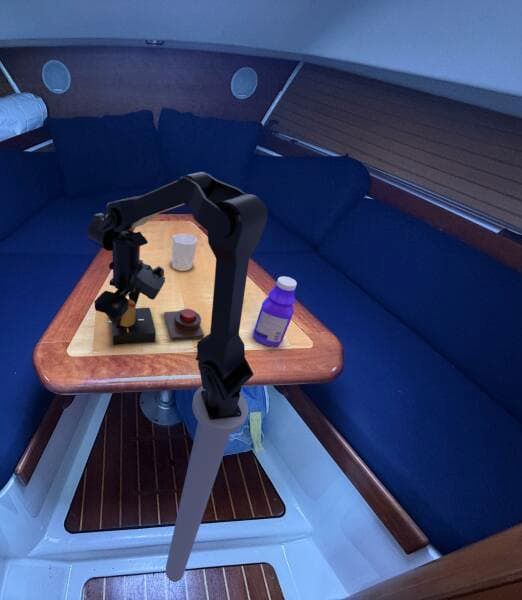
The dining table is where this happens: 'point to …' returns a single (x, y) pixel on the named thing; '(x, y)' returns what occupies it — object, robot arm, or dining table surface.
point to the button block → (183, 327)
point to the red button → (188, 315)
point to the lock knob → (129, 314)
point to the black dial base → (136, 329)
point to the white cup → (183, 251)
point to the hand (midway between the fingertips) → (126, 316)
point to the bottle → (276, 313)
